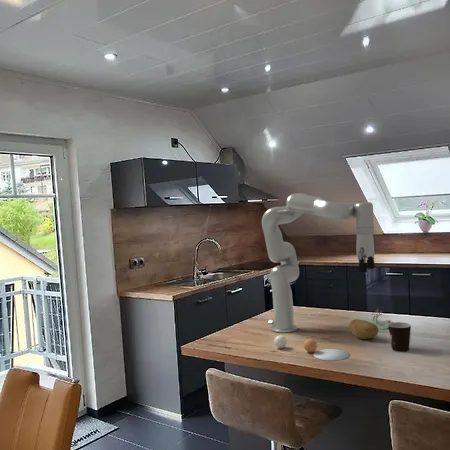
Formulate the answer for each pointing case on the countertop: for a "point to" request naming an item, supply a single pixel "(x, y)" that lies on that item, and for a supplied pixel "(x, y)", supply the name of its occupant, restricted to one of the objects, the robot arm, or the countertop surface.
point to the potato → (363, 329)
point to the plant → (378, 322)
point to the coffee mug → (399, 336)
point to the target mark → (331, 354)
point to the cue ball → (280, 341)
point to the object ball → (310, 345)
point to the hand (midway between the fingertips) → (367, 270)
